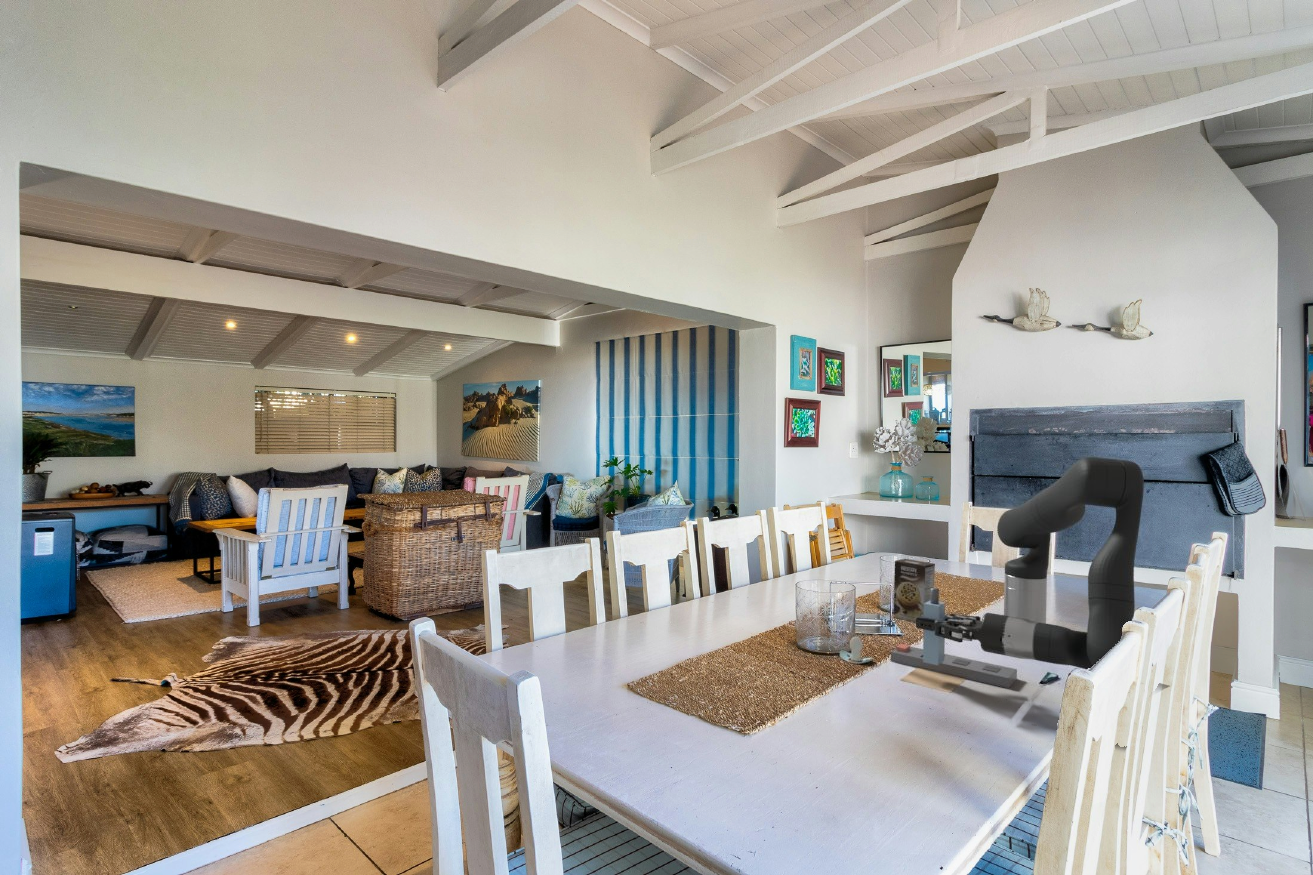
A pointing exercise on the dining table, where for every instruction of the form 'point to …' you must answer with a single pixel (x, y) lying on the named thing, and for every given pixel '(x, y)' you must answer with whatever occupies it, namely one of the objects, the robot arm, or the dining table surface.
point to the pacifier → (854, 651)
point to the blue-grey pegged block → (931, 642)
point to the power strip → (957, 666)
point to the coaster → (933, 680)
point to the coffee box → (912, 588)
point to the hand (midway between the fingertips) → (920, 620)
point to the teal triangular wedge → (1048, 678)
